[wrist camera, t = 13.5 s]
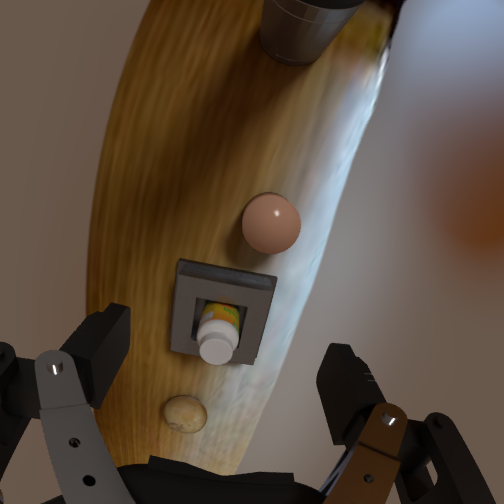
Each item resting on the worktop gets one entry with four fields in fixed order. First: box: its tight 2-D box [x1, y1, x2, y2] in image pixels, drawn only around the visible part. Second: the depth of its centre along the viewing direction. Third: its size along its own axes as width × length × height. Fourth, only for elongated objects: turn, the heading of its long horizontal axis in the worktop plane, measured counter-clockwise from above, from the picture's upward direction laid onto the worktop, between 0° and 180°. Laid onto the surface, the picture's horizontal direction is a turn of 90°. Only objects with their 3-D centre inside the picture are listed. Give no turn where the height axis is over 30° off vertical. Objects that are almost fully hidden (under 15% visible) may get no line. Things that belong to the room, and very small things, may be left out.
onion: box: [164, 395, 207, 433], centre depth 47 cm, size 8×8×7 cm
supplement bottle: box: [197, 300, 239, 365], centre depth 38 cm, size 5×5×10 cm
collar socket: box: [170, 258, 277, 365], centre depth 42 cm, size 14×14×4 cm
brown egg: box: [242, 192, 301, 254], centre depth 38 cm, size 7×7×5 cm
